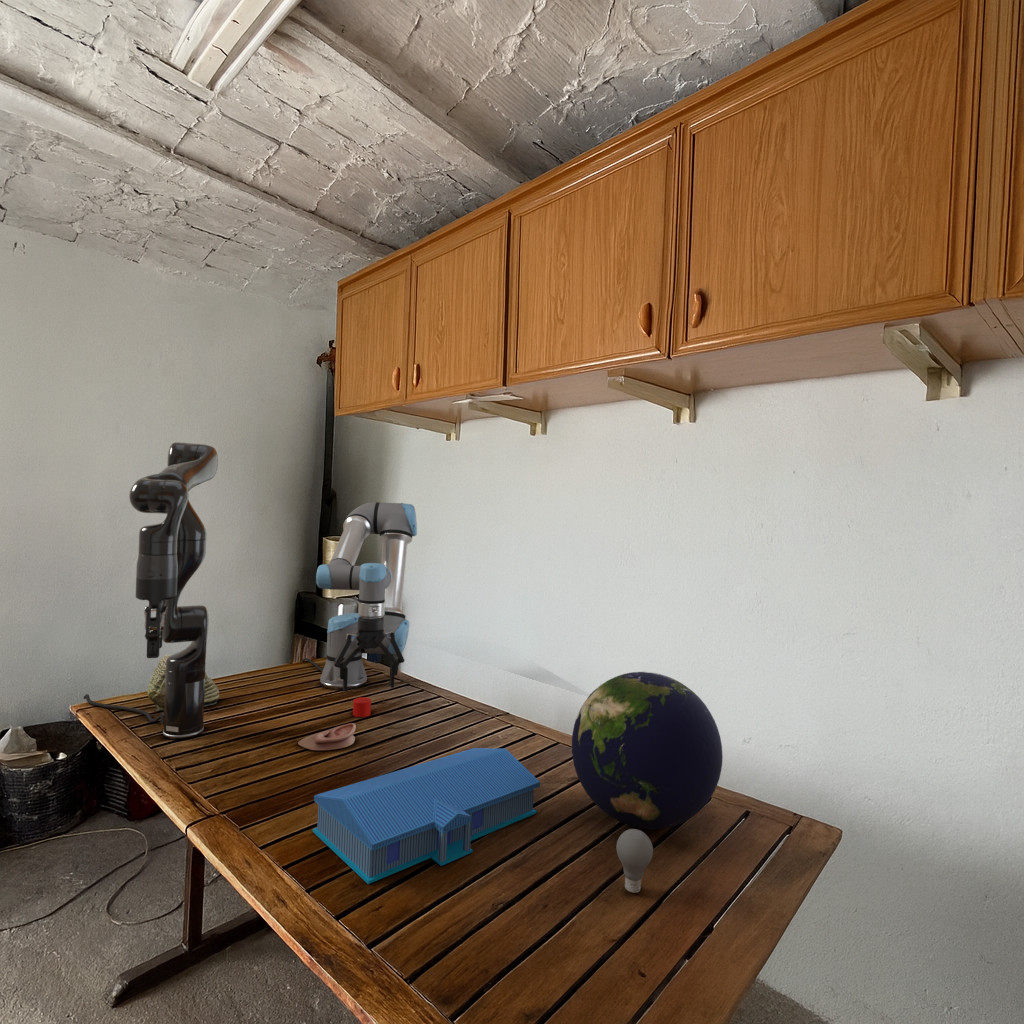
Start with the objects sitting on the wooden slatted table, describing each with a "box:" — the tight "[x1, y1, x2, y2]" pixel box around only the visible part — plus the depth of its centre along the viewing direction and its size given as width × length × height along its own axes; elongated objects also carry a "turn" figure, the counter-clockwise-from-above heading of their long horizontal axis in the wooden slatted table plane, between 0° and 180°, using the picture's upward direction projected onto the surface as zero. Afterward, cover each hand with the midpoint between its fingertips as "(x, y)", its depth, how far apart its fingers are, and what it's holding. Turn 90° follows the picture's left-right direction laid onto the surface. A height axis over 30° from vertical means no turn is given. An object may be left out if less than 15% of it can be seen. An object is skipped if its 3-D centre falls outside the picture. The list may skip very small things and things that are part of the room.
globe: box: [571, 671, 724, 831], centre depth 129 cm, size 30×30×30 cm
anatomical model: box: [297, 722, 357, 751], centre depth 162 cm, size 13×4×12 cm
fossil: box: [147, 654, 221, 712], centre depth 185 cm, size 9×18×15 cm, turn 132°
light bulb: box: [615, 828, 654, 894], centre depth 106 cm, size 6×6×10 cm
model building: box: [312, 747, 541, 885], centre depth 124 cm, size 39×24×10 cm, turn 132°
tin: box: [352, 696, 372, 718], centre depth 185 cm, size 5×5×4 cm
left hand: (154, 652), depth 132 cm, fingers open, 8 cm apart
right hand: (368, 688), depth 186 cm, fingers open, 13 cm apart
